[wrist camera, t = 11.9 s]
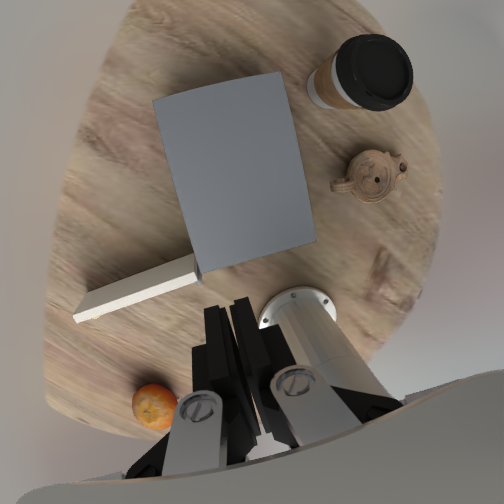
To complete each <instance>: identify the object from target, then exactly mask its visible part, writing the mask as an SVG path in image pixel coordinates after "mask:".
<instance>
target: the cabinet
mask: <svg viewBox="0 0 504 504" xmlns="http://www.w3.org/2000/svg"><path fill="white" fill-rule="evenodd" d="M152 102H153V106H154V111H155V115H156V119H157V123H158V127H159V130H160V134H161V138H162V142H163V146H164V150H165V153H166V157H167V161H168V165H169V168H170V172H171V175H172V179H173V183H174V186H175V190H176V193H177V197H178V200H179V204H180V207H181V210H182V214H183V217H184V221H185V224H186V227H187V231H188V234H189V237H190V240H191V244H192V247H193V250H194V253H195V256H196V260H197V263H198V266H199V269H200V272H201V274H203V273H206V272H210V271H213V270H217V269H221V268H224V267H228V266H231V265H235V264H238V263H242V262H245V261H249V260H253V259H256V258H260V257H263V256H267V255H270V254H274V253H277V252H281V251H284V250H288V249H291V248H295V247H298V246H302V245H305V244H309V243H312V242H316V241H317V239H316V233H315V228H314V222H313V216H312V211H311V205H310V200H309V195H308V190H307V185H306V179H305V174H304V170H303V165H302V160H301V155H300V150H299V146H298V141H297V137H296V132H295V128H294V123H293V119H292V115H291V110H290V106H289V102H288V98H287V94H286V90H285V86H284V82H283V78H282V74H281V71H280V72H273V73H267V74H261V75H255V76H250V77H245V78H240V79H235V80H230V81H225V82H221V83H216V84H212V85H208V86H203V87H199V88H195V89H191V90H188V91H184V92H180V93H177V94H173V95H170V96H166V97H163V98H159V99H156V100H153V101H152Z"/></svg>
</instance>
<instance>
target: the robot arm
mask: <svg viewBox="0 0 504 504" xmlns="http://www.w3.org/2000/svg"><path fill="white" fill-rule="evenodd" d="M292 293H293V294H292ZM234 303H235V304H234V305H231V306H229V307H230V312H231V316H232V321H233V326H234V330H235V335H236V339H237V343H236V340H235V337H234V333H233V330H232V327H231V324H230V321H229V318H228V315H227V312H226V309H225V307H223V308H219V306H218V305H216V306H213V307H209V308H205V309H204V319H205V334H206V344H203V345H199V346H195V347H193V348H192V382H193V393H191V394H188V395H186V396H185V397H184V398H182V399H181V400H180V402H179V403H178V404H177V406H176V408H175V411H174V416H173V421H172V426H171V431H170V432H168V433H167V434H166V435H165V436H164V437H163V438H162V439H161V440H160V441H159V442H158V443H157V444H156V445H154V446H153V447H152V448H151V449H150V450H149V451H148V452H147V453H146V454H145V455H143V456H142V457H141V458H140V459H139V460H138V461H137V462H136V463H135V464H133V465H132V466H131V468H130V469H129V470H128V472H127V473H126V474H123V473H122V472H117V473H113V474H109V475H105V476H101V477H97V478H92V479H88V480H84V481H79V482H67V483H59V484H53V485H48V486H44V487H41V488H38V489H34V490H32V491H30V492H28V493H26V494H24V495H23V496H22V497H21V498H20V499H19V500H18V501H17V503H16V504H504V370H494V371H489V372H484V373H480V374H475V375H473V376H470V377H467V378H464V379H458V380H455V381H452V382H449V383H446V384H443V385H440V386H437V387H433V388H430V389H427V390H424V391H420V392H416V393H413V394H410V395H406V396H405V399H404V400H400V401H398V400H396V399H395V398H394V397H393V396H392V395H391V394H390V393H389V392H388V391H387V390H386V389H385V387H384V386H383V385H382V384H381V383H380V381H379V380H378V379H377V378H376V376H375V375H374V374H373V372H372V371H371V370H370V368H369V367H368V366H367V364H366V363H365V361H364V360H363V359H362V357H361V356H360V355H359V353H358V352H357V351H356V349H355V348H354V347H353V345H352V344H351V343H350V341H349V340H348V338H347V337H346V336H345V334H344V333H343V332H342V330H341V329H340V328H339V326H338V325H337V324H336V320H337V313H336V308H335V306H334V304H333V302H332V300H331V299H330V298H329V297H328V296H327V295H326V294H325V293H324V292H322V291H321V290H319V289H316V288H313V287H307V286H301V287H294V288H290V289H287V290H285V291H283V292H281V293H279V294H278V295H276V296H275V297H273V298H272V299H271V300H270V301H269V302H268V303H267V305H266V306H265V307H264V308H263V310H262V312H261V314H260V317H259V320H258V324H257V321H256V318H255V316H254V313H253V310H252V307H251V304H250V301H249V298H248V297H245V298H241V299H238V300H234ZM264 318H265V319H264ZM237 344H238V346H237ZM238 348H239V349H238ZM251 393H252V395H251ZM252 396H253V399H254V402H255V405H256V407H257V410H258V413H259V415H260V418H261V421H262V424H263V426H264V429H265V432H266V433H270V432H272V434H273V437H274V440H276V441H279V442H281V443H284V444H287V445H288V447H289V450H288V451H285V452H281V453H278V454H274V455H270V456H267V457H263V458H259V459H255V460H251V461H250V460H249V456H248V453H249V452H250V451H251V449H252V448H253V447H254V446H256V445H257V440H256V436H259V435H261V431H260V427H259V423H258V419H257V416H256V412H255V408H254V404H253V399H252Z"/></svg>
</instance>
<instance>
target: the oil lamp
mask: <svg viewBox="0 0 504 504" xmlns="http://www.w3.org/2000/svg"><path fill="white" fill-rule="evenodd" d="M407 174H408V163H407V161H406V160H405V159H404V157H403V156H402V155H401V154H399V155H397V156H390V153H389V152H388V151H387V152H384V153H383V152H381V151H379V150H372V149H370V150H366V151H363V152H361V153H360V154H358V155H356V156H355V157H354V158H353V159H352V160H351V162H350V164H349V167H348V169H347V174H346V177H343V178H339V179H335V180H333V181H331V182H330V187H331V191H332V192H336V193H341V192H348V191H351V192H352V194H353V195H354V196H355V197H356V198H357V199H358V200H360V201H361V202H364V203H370V204H372V203H377V202H380V201H382V200H383V199H385V198H386V197H387V196H388V194H389V193H390V192H391V191H396V187H395V185H396V183H397V181H398V180H400V179H407Z"/></svg>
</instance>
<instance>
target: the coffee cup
mask: <svg viewBox="0 0 504 504" xmlns="http://www.w3.org/2000/svg"><path fill="white" fill-rule="evenodd" d="M412 84H413V69H412V65H411V62H410V60H409V57H408V55H407V54H406V52H405V51H404V49H403V48H402V47H401V46H400V45H399V44H398V43H396V42H395V41H394V40H392V39H391V38H389V37H386V36H384V35H379V34H371V35H359V36H356V37H352V38H350V39H348V40H347V41H345V42H344V43H343V44H342V45H341V47H340V49H338V50H337V51H336V52H335V53H334V54H333V55H332V56H330V57H329V58H328V59H327V60H326V61H325V62H324V63H323V64H322V65H321V66H320V67H319V68H317V69H316V70H315V71H314V72H313V73H312V74H311V75H310V76H309V78H308V81H307V92H308V95H309V97H310V98H311V100H312V101H313V102H314V103H315V104H316V105H318V106H320V107H322V108H325V109H365V110H371V111H385V110H389V109H391V108H393V107H395V106H396V105H398V104H399V103H401V102H403V101H404V100H405V99H406V98H407V96H408V95H409V93H410V91H411V89H412Z"/></svg>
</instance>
